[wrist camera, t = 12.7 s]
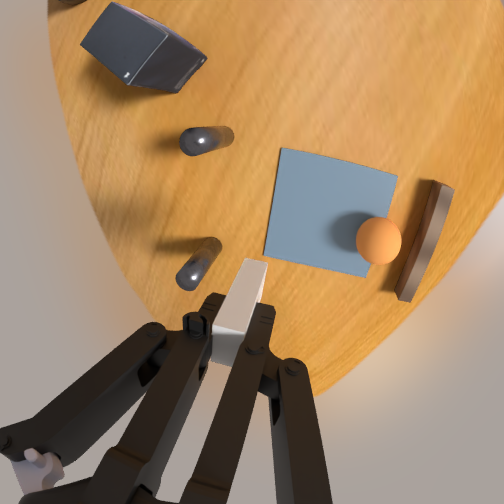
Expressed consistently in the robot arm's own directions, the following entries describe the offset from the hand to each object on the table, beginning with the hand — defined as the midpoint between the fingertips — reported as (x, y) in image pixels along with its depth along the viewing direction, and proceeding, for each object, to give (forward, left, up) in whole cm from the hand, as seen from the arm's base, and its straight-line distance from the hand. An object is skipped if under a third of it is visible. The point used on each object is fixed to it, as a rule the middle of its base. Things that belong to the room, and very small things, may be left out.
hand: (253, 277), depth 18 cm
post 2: (+7, -8, -16) cm, 20 cm away
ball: (+1, +12, -14) cm, 18 cm away
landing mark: (0, +6, -16) cm, 17 cm away
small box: (-18, -17, -17) cm, 30 cm away
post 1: (-7, -8, -16) cm, 20 cm away
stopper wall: (0, +19, -16) cm, 25 cm away
